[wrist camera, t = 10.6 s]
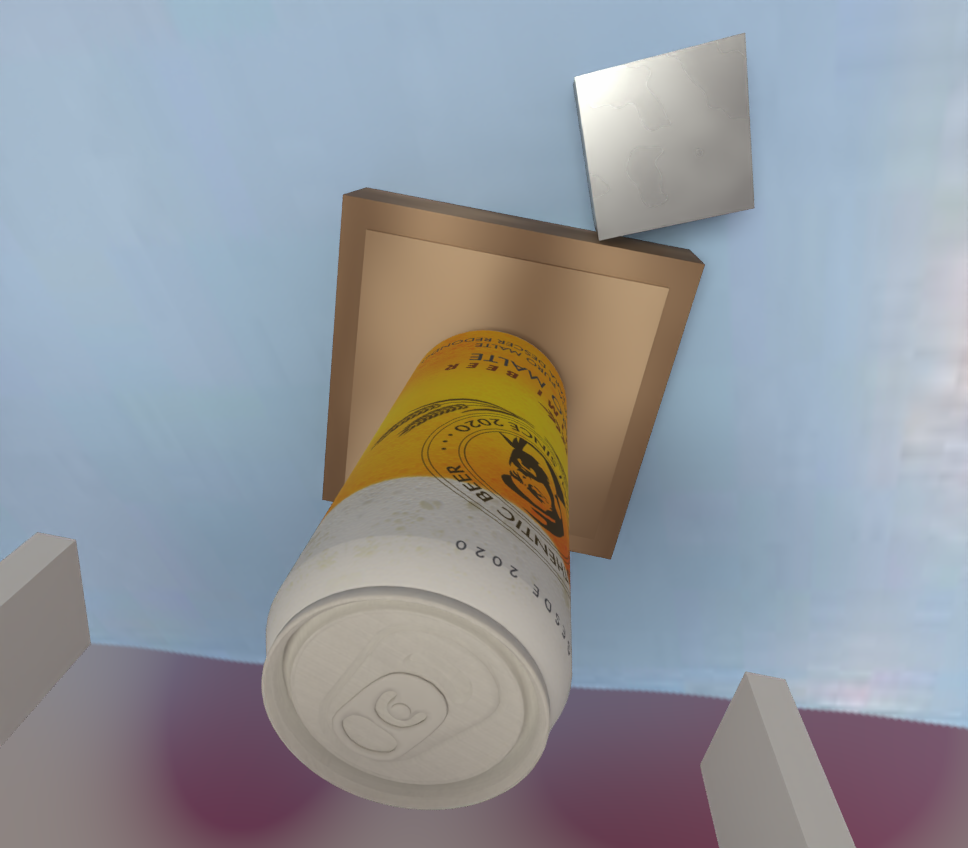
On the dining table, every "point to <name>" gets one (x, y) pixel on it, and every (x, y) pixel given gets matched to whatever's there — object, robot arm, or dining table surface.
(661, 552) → the dining table surface
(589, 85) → the steel block
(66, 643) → the robot arm
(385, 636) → the beer can
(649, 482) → the dining table surface
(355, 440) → the plinth
